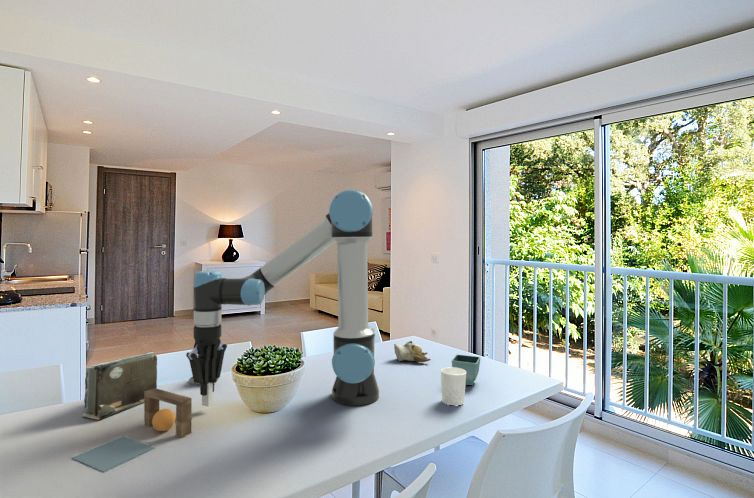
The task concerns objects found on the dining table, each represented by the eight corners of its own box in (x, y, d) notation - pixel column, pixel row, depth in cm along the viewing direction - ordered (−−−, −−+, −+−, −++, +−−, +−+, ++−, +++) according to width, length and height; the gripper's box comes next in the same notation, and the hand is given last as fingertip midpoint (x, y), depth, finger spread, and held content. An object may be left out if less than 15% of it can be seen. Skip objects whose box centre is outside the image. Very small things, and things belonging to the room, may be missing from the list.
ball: (176, 433, 112) (182, 411, 114) (158, 432, 107) (166, 409, 109) (161, 429, 114) (168, 407, 116) (144, 428, 109) (151, 406, 111)
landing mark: (154, 447, 102) (154, 447, 102) (103, 472, 92) (103, 471, 92) (123, 436, 108) (123, 435, 108) (71, 458, 97) (71, 457, 97)
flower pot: (450, 385, 149) (451, 360, 149) (455, 378, 157) (456, 353, 157) (476, 389, 146) (476, 363, 145) (480, 381, 154) (480, 356, 154)
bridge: (154, 421, 117) (154, 388, 116) (191, 433, 110) (191, 398, 110) (144, 425, 114) (144, 391, 114) (181, 437, 108) (181, 401, 107)
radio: (151, 390, 140) (151, 345, 140) (169, 394, 136) (169, 348, 136) (76, 416, 119) (76, 364, 118) (95, 423, 115) (95, 368, 115)
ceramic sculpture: (393, 336, 183) (428, 339, 183) (392, 356, 183) (426, 359, 183) (395, 343, 172) (432, 346, 172) (393, 364, 172) (430, 367, 173)
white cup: (468, 400, 136) (468, 369, 136) (462, 409, 129) (463, 376, 128) (444, 396, 139) (444, 365, 139) (437, 404, 132) (437, 372, 132)
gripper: (216, 319, 130) (215, 395, 131) (179, 327, 119) (179, 410, 120) (234, 321, 127) (233, 399, 128) (198, 330, 115) (197, 415, 116)
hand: (207, 404), depth 124 cm, fingers closed
